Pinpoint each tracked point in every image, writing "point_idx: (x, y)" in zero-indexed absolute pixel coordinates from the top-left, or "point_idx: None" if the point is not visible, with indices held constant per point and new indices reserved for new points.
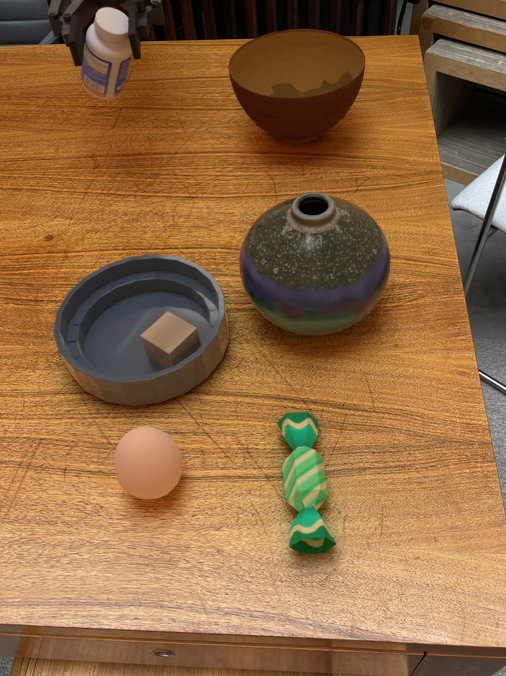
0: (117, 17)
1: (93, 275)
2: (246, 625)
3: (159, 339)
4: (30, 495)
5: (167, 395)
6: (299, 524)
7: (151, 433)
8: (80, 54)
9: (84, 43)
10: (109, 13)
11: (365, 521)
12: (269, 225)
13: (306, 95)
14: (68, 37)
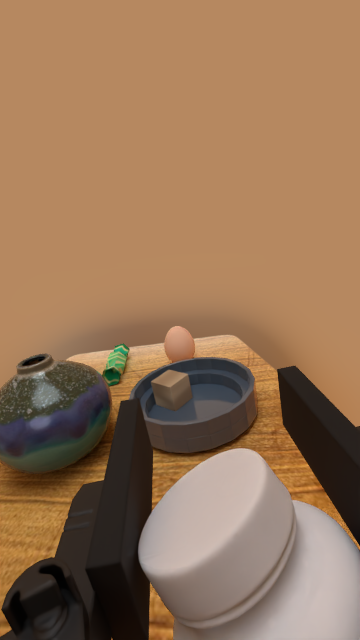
0: (184, 522)
1: (237, 403)
2: (150, 345)
3: (175, 374)
4: (241, 352)
5: None
6: (123, 349)
7: (170, 331)
8: (291, 423)
9: (355, 537)
10: (216, 512)
11: (99, 367)
12: (71, 371)
13: None
14: (306, 378)
